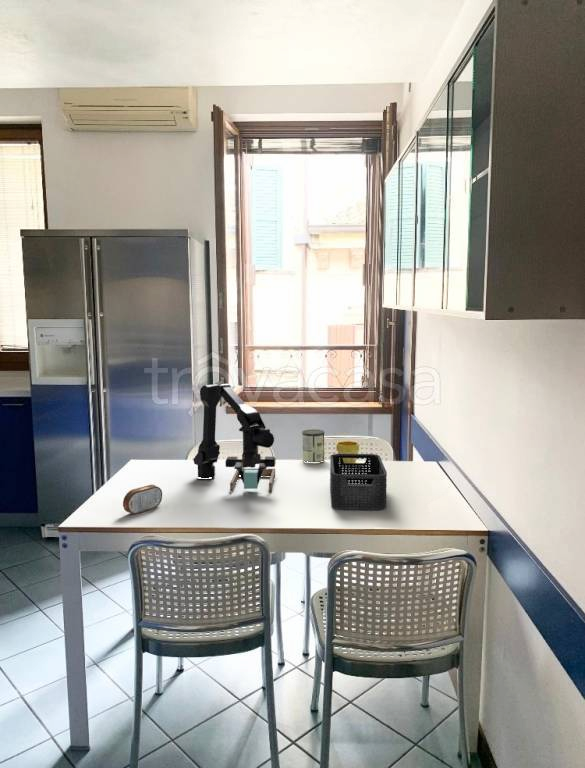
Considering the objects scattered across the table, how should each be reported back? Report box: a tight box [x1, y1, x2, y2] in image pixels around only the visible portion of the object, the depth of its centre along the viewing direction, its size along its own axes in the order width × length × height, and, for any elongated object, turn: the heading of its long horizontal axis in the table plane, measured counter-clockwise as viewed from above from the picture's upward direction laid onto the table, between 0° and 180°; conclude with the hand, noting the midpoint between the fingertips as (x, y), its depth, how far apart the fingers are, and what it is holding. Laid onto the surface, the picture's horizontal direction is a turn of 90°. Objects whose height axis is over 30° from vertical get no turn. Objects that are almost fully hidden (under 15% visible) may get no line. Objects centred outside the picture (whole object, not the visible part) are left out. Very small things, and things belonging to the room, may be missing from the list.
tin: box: [122, 484, 163, 515], centre depth 197 cm, size 15×3×8 cm, turn 141°
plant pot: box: [335, 440, 360, 464], centre depth 258 cm, size 10×10×10 cm
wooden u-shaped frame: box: [229, 467, 276, 493], centre depth 229 cm, size 16×21×4 cm
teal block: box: [243, 470, 259, 490], centre depth 218 cm, size 5×5×6 cm
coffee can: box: [301, 428, 325, 462], centre depth 263 cm, size 10×10×14 cm
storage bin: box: [329, 453, 388, 511], centre depth 210 cm, size 29×19×13 cm
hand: (251, 483), depth 218 cm, fingers closed on teal block, 5 cm apart
